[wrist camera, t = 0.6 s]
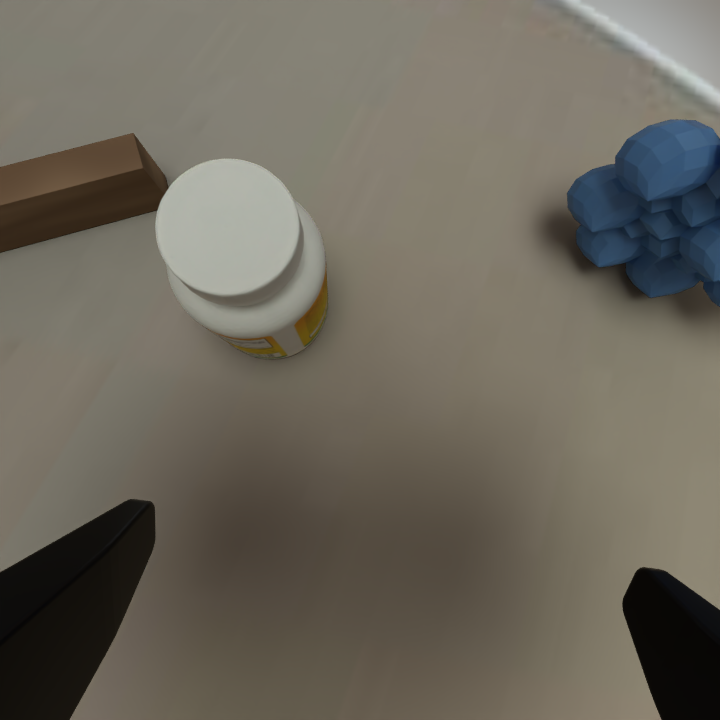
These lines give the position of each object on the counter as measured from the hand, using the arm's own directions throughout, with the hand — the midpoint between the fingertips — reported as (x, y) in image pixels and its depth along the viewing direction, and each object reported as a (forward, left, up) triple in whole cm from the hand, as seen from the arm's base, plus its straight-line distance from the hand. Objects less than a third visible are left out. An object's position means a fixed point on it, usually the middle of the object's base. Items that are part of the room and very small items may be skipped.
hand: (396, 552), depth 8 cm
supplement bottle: (+5, +7, -13) cm, 16 cm away
